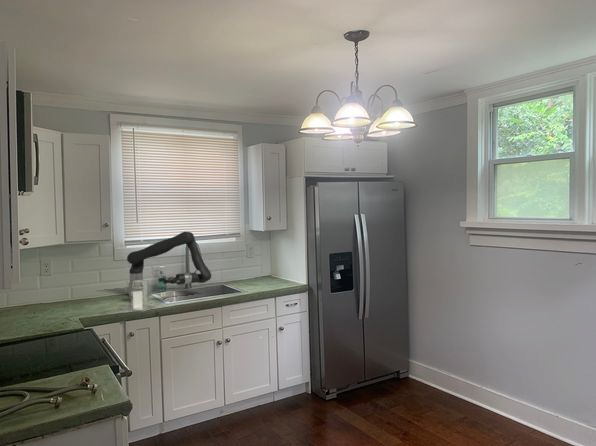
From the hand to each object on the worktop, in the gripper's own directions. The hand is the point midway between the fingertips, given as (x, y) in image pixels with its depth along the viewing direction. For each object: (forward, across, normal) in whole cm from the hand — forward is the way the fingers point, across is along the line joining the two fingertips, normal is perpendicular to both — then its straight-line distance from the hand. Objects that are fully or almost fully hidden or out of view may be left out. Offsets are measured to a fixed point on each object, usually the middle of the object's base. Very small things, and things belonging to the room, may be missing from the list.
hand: (161, 281), depth 305 cm
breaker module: (+17, +1, +15) cm, 23 cm away
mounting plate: (+16, +1, +16) cm, 23 cm away
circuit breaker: (+7, -18, +17) cm, 25 cm away
